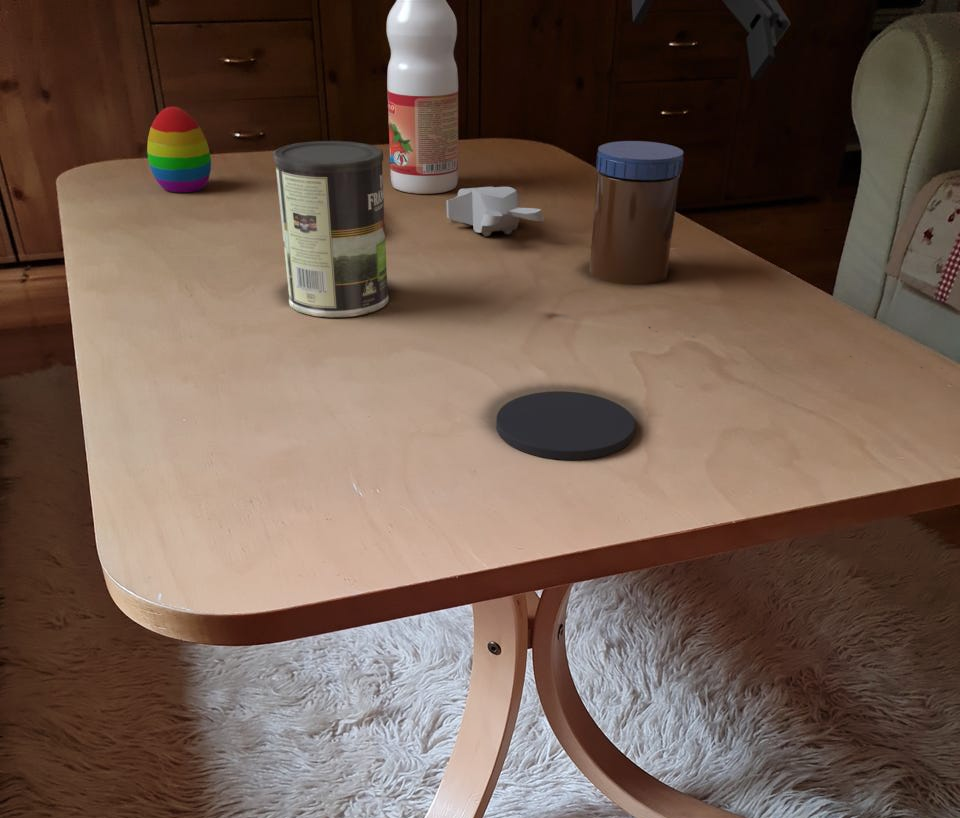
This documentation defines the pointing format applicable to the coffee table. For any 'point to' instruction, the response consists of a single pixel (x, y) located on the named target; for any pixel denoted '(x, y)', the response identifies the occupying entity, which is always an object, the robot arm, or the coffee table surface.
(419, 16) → the fruit juice
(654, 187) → the jar
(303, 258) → the coffee can
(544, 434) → the coaster
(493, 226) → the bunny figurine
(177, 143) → the decorative egg
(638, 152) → the jar lid
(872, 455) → the coffee table surface
